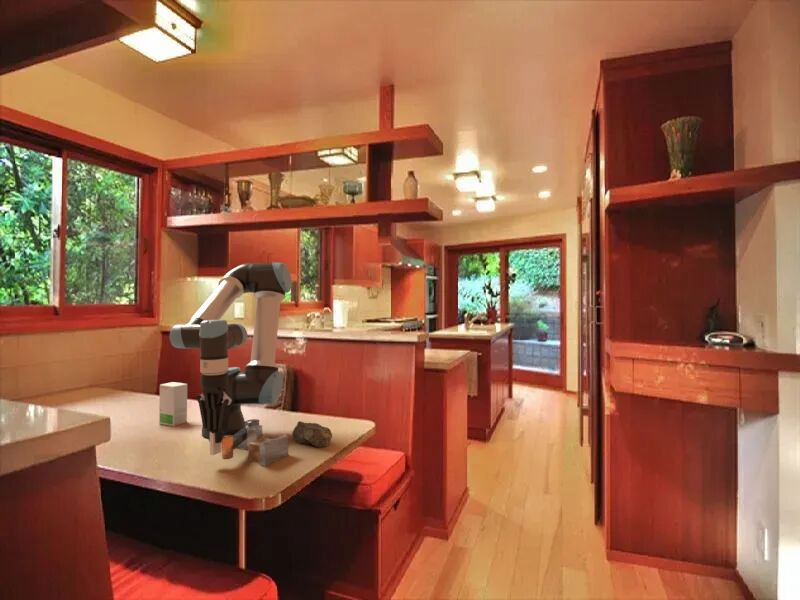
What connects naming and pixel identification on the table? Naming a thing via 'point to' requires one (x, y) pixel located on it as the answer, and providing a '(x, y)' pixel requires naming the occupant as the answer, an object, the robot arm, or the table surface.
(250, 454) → the tan cardboard box
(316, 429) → the rock
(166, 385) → the skincare box
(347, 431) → the table surface
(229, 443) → the lever
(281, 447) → the grey piece
